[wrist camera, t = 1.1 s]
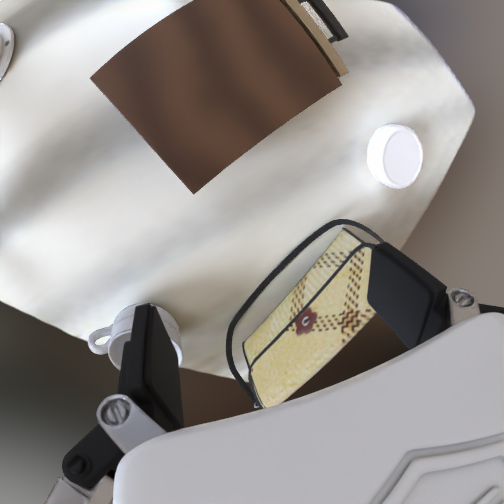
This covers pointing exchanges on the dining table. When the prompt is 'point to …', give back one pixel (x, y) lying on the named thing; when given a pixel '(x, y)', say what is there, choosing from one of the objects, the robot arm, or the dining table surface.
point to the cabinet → (215, 82)
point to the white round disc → (395, 155)
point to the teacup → (123, 333)
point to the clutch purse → (307, 318)
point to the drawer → (293, 4)
